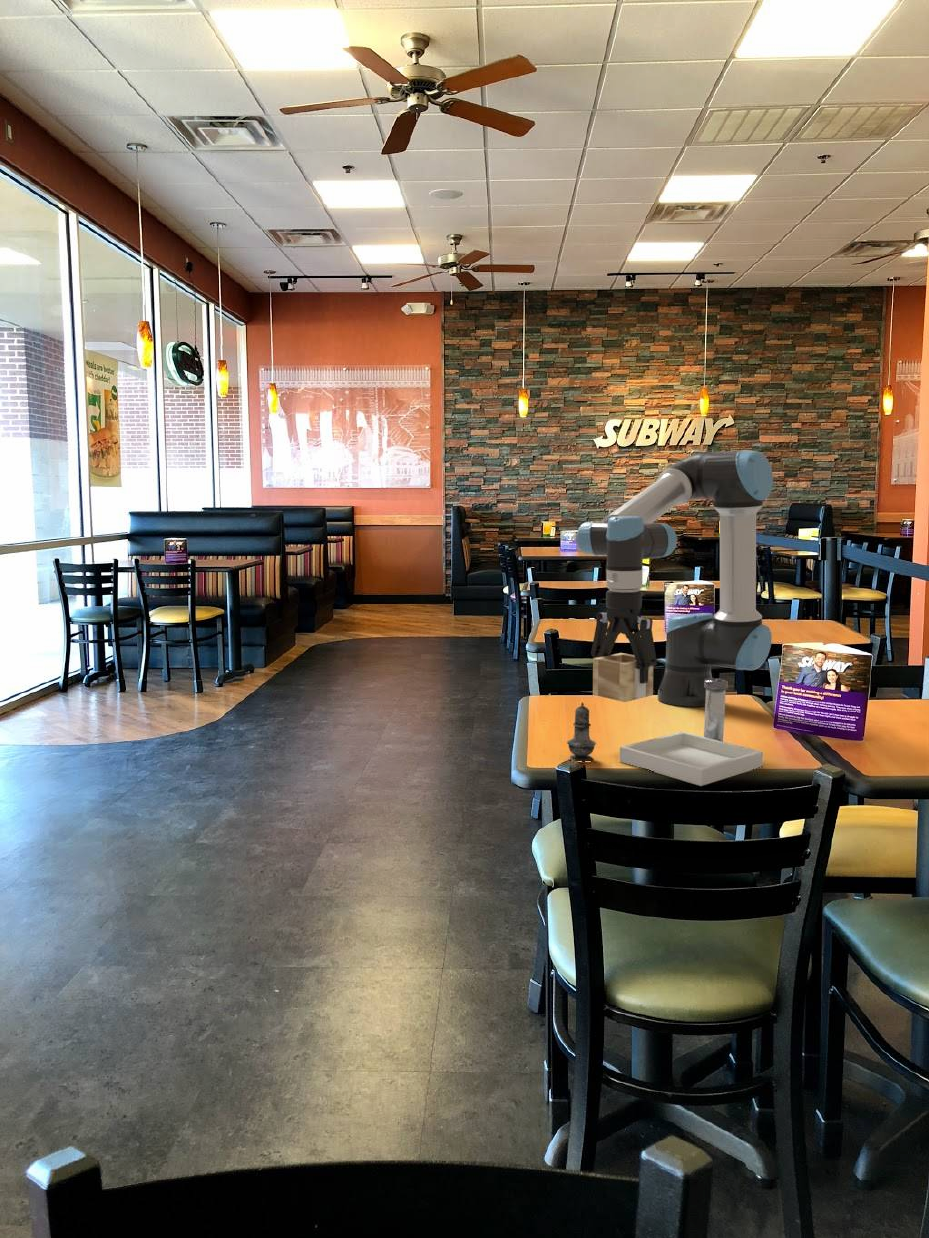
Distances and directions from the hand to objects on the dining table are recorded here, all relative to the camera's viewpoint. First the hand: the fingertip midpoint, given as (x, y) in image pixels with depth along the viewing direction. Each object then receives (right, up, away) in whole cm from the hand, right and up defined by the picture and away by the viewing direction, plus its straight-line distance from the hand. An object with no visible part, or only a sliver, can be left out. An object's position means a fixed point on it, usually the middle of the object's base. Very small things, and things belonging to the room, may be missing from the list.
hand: (622, 693), depth 200 cm
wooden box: (0, 0, 0) cm, 0 cm away
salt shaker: (-10, -13, -9) cm, 19 cm away
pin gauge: (+19, -12, -1) cm, 23 cm away
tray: (+12, -13, -12) cm, 21 cm away
